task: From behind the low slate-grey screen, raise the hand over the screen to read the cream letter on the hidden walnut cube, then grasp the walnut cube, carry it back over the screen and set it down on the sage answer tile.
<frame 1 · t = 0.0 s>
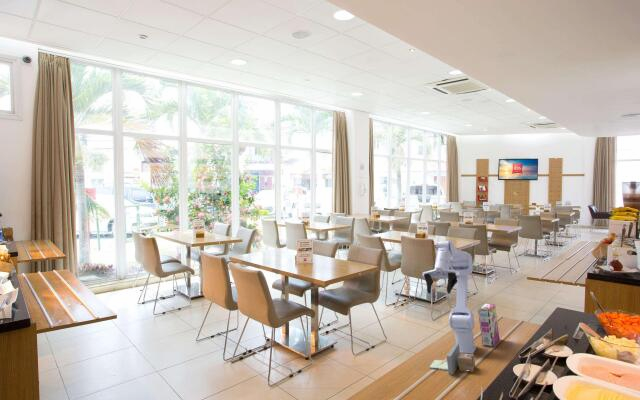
hand: (438, 292, 145), 32 cm above the table, tool tilted 50°, fingers open, 7 cm apart
slate screen: (455, 367, 151), on the table
candy bar box: (491, 342, 172), on the table
answer tile: (441, 365, 154), on the table
walnut letter cube: (467, 368, 148), on the table
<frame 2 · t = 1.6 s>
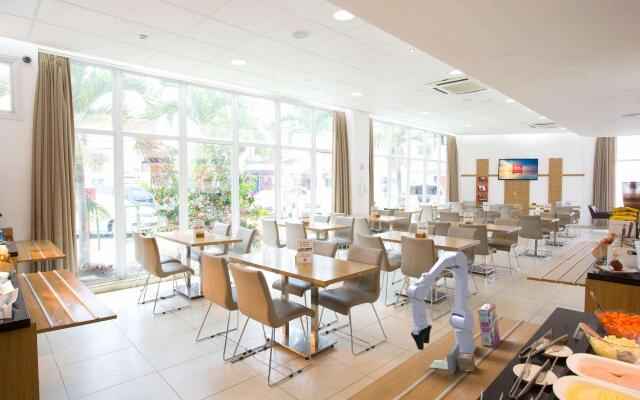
hand: (423, 346, 158), 7 cm above the table, tool pointing down, fingers open, 7 cm apart
nothing on the table moved.
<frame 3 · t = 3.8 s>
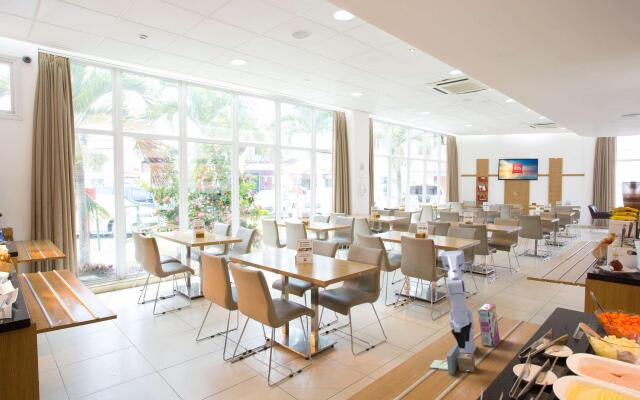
hand: (464, 344, 149), 9 cm above the table, tool pointing down, fingers open, 7 cm apart
nothing on the table moved.
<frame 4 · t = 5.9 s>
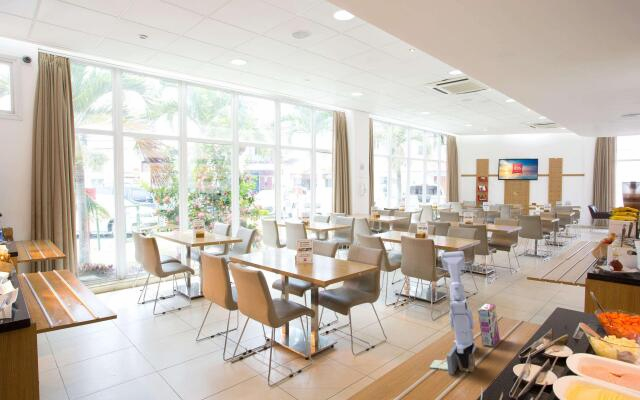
hand: (467, 365, 148), 1 cm above the table, tool pointing down, fingers closed on walnut letter cube, 5 cm apart
walnut letter cube: (467, 368, 148), on the table, touching gripper
everything else where it was.
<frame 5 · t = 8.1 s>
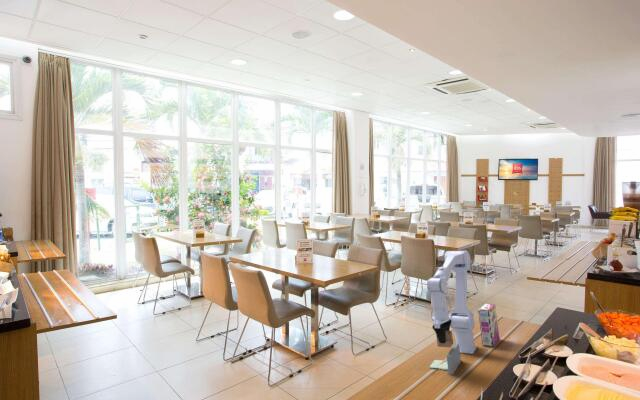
hand: (444, 340, 153), 10 cm above the table, tool pointing down, fingers closed on walnut letter cube, 5 cm apart
walnut letter cube: (445, 344, 153), point 9 cm above the table, touching gripper
everything else where it was.
when the fingers open (3 cm above the table, at t = 10.6 s): walnut letter cube drops 1 cm, resting on answer tile.
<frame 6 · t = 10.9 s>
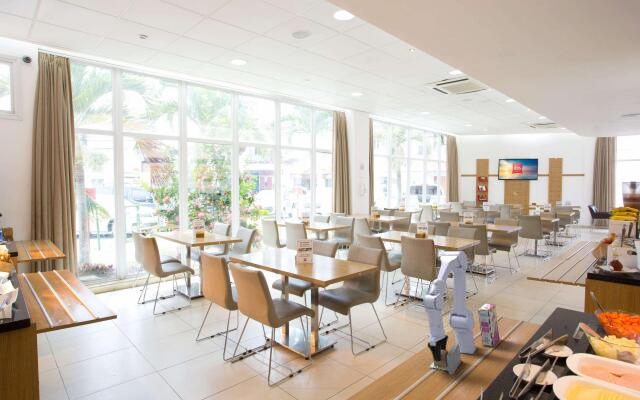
hand: (440, 357, 154), 3 cm above the table, tool pointing down, fingers open, 7 cm apart
walnut letter cube: (441, 364, 154), point 1 cm above the table, touching answer tile
everything else where it was.
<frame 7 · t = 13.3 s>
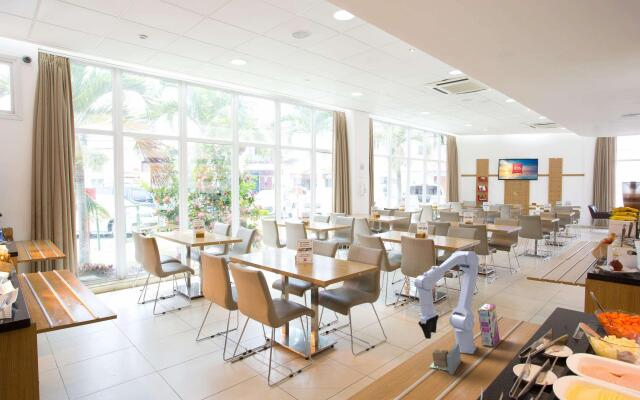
hand: (430, 335, 161), 10 cm above the table, tool pointing down, fingers open, 7 cm apart
nothing on the table moved.
at the end: walnut letter cube 0.3 cm off-centre on the answer tile, point 0.6 cm above the answer tile's base; walnut letter cube tilted 0°; the gripper is holding nothing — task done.
